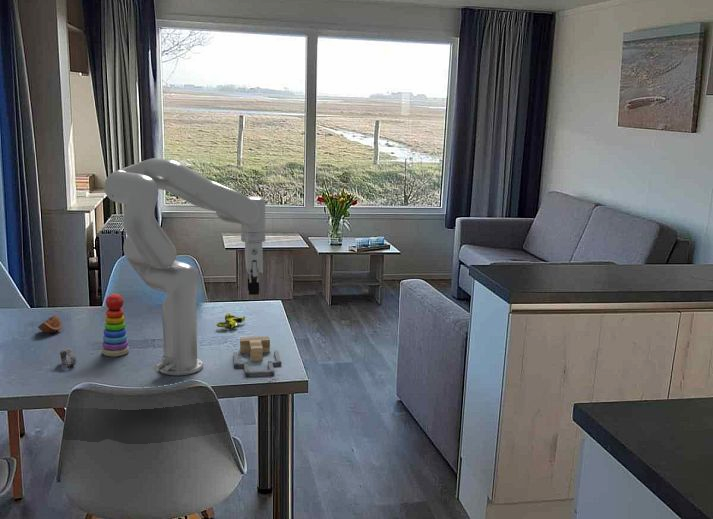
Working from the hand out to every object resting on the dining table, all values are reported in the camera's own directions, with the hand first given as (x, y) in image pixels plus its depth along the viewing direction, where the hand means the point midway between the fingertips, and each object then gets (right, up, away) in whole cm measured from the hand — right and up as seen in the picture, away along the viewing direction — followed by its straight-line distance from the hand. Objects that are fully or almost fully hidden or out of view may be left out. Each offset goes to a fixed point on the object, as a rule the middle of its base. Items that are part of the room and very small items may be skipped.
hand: (253, 291), depth 220 cm
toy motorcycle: (-11, -13, +20) cm, 26 cm away
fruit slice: (-69, -14, +8) cm, 70 cm away
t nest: (+4, -21, -16) cm, 27 cm away
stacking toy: (-41, -19, -9) cm, 46 cm away
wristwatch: (-51, -21, -19) cm, 58 cm away
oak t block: (+2, -19, -6) cm, 20 cm away
